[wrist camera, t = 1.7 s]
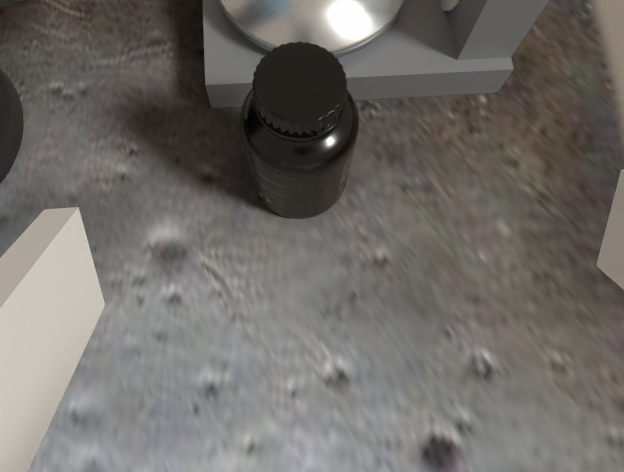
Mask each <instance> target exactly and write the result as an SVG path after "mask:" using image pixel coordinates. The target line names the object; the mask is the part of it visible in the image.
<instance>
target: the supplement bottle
mask: <svg viewBox="0 0 624 472" xmlns="http://www.w3.org/2000/svg"><path fill="white" fill-rule="evenodd" d="M253 78H254V79H253V81H252V88H251V89H250V91H249V92H248V94H247V95H246V97H245V99H244V102H243V105H242V108H241V113H240V128H241V135H242V139H243V144H244V148H245V153H246V157H247V162H248V166H249V171H250V175H251V179H252V183H253V186H254V189H255V191H256V193H257V195H258V197H259V199H260V200H261V201H262V202H263V203H264V204H265V205H266V206H267V207H268V208H269V209H270V210H272V211H274V212H275V213H277V214H279V215H282V216H285V217H289V218H295V219H304V218H310V217H314V216H317V215H319V214H321V213H323V212H325V211H327V210H328V209H329V208H331V207H332V206H333V205H334V204H335V203H336V202H337V200H338V199H339V198H340V196H341V194H342V192H343V190H344V188H345V185H346V181H347V177H348V173H349V168H350V164H351V160H352V156H353V151H354V147H355V143H356V138H357V134H358V127H359V115H358V110H357V106H356V103H355V101H354V98H353V96H352V95H351V93H350V91H349V90H348V89H347V80H346V73H345V72H344V70H343V66H342V65H341V64H340V63H339V60H338V58H336V57H334V55H333V53H331V52H329V51H327V49H326V48H323V47H320V46H319V45H317V44H311V43H309V42H305V43H303V42H300V41H299V42H296V43H293V42H289V43H287V44H281V45H280V46H279V47H275V48H273V49H272V50H271V51H270V52H267V53H266V55H265V57H263V58H261V60H260V63H259V64H258V65H257V66H256V71H255V72H254V73H253Z"/></svg>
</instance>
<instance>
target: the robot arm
mask: <svg viewBox="0 0 624 472" xmlns="http://www.w3.org/2000/svg"><path fill="white" fill-rule="evenodd" d="M20 1H23V0H0V7H2V6H6V5H9V4H13V3H16V2H20ZM22 134H23V111H22V106H21V102H20V99H19V96H18V94H17V91H16V89H15V87H14V86H13V84H12V83H11V81H10V80H9V78H8V77H7V76H6V75H5V73H4V72H3V71H2V70H1V69H0V183H1V182H2V181H3V179H4V178H5V176H6V175H7V173H8V172H9V170H10V168H11V167H12V165H13V163H14V161H15V159H16V156H17V154H18V151H19V148H20V144H21V140H22ZM596 266H597V267H598V268H600V269H601V270H602V271H603V272H604V273H605V274H606V275H608V276H609V277H610V278H611V279H612V280H613V281H615V282H616V283H617V284H618V285H619V286H620V287H621V288H623V289H624V170H621V173H620V177H619V180H618V184H617V188H616V192H615V196H614V200H613V204H612V207H611V211H610V215H609V219H608V223H607V227H606V230H605V234H604V238H603V242H602V246H601V250H600V254H599V257H598V261H597V265H596ZM104 307H105V303H104V299H103V296H102V292H101V288H100V285H99V281H98V277H97V274H96V270H95V266H94V262H93V259H92V255H91V251H90V248H89V244H88V240H87V237H86V233H85V229H84V226H83V222H82V218H81V215H80V211H79V207H73V208H58V209H44V210H43V212H42V213H41V214H40V215H39V216H38V217H37V218H36V219H35V220H34V221H33V223H32V224H31V225H30V226H29V227H28V228H27V229H26V230H25V231H24V232H23V234H22V235H21V236H20V237H19V238H18V239H17V240H16V241H15V242H14V243H13V244H12V246H11V247H10V248H9V249H8V250H7V251H6V252H5V253H4V254H3V255H2V257H1V258H0V472H28V470H29V468H30V466H31V464H32V461H33V459H34V457H35V455H36V453H37V451H38V449H39V446H40V444H41V442H42V440H43V438H44V436H45V433H46V431H47V429H48V427H49V425H50V423H51V421H52V418H53V416H54V414H55V412H56V410H57V408H58V406H59V403H60V401H61V399H62V397H63V395H64V393H65V390H66V388H67V386H68V384H69V382H70V380H71V378H72V375H73V373H74V371H75V369H76V367H77V365H78V363H79V360H80V358H81V356H82V354H83V352H84V350H85V347H86V345H87V343H88V341H89V339H90V337H91V335H92V332H93V330H94V328H95V326H96V324H97V322H98V319H99V317H100V315H101V313H102V311H103V309H104Z"/></svg>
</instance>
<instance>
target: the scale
mask: <svg viewBox="0 0 624 472" xmlns="http://www.w3.org/2000/svg"><path fill="white" fill-rule="evenodd" d="M548 1H549V0H404V3H403V6H402V8H401V11H400V13H399V15H398V17H397V18H396V20H395V22H394V23H393V25H392V26H391V27H390V28H389V29H388V31H387V32H386V33H385V34H384V35H382V36H381V37H380V38H379V39H378V40H377V41H375V42H374V43H372V44H371V45H369V46H367V47H365V48H363V49H361V50H359V51H357V52H355V53H352V54H349V55H346V56H342V57H338V60H339V63H340V64H341V65H342V66H343V70H344V72H345V73H346V80H347V89H348V90H349V91H350V93H351V95H352V96H353V98H354V100H372V99H390V98H408V97H427V96H445V95H463V94H482V93H497V92H498V91H499V90H500V88H501V87H502V85H503V84H504V82H505V81H506V80H507V78H508V77H509V75H510V74H511V72H512V71H513V70H514V69H513V64H512V60H511V56H512V55H513V53H514V52H515V50H516V49H517V47H518V46H519V44H520V43H521V41H522V40H523V38H524V37H525V35H526V34H527V32H528V31H529V29H530V28H531V26H532V25H533V23H534V22H535V20H536V19H537V17H538V16H539V14H540V13H541V11H542V10H543V8H544V7H545V5H546V4H547V2H548ZM203 30H204V61H205V86H206V90H207V93H208V97H209V101H210V104H211V108H225V107H242V105H243V102H244V99H245V97H246V95H247V94H248V92H249V91H250V89H251V88H252V81H253V79H254V78H253V73H254V72H255V71H256V66H257V65H258V64H259V63H260V60H261V58H263V57H265V55H266V53H267V52H270V51H267V50H265V49H263V48H261V47H259V46H257V45H256V44H254V43H253V42H251V41H250V40H248V39H247V38H245V37H244V36H243V35H242V34H241V33H240V32H238V31H237V30H236V28H235V27H234V26H233V25H232V24H231V23H230V22H229V20H228V19H227V17H226V16H225V14H224V13H223V11H222V9H221V6H220V4H219V2H218V0H203Z"/></svg>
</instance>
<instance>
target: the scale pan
mask: <svg viewBox="0 0 624 472" xmlns="http://www.w3.org/2000/svg"><path fill="white" fill-rule="evenodd" d="M218 2H219V4H220V6H221V9H222V11H223V13H224V14H225V16H226V17H227V19H228V20H229V22H230V23H231V24H232V25H233V26H234V27H235V28H236V30H237V31H238V32H240V33H241V34H242V35H243V36H244V37H245V38H247V39H248V40H250V41H251V42H253V43H254V44H256V45H257V46H259V47H261V48H263V49H265V50H267V51H271V50H272V49H273V48H275V47H279V46H280V45H281V44H287V43H289V42H293V43H296V42H299V41H300V42H303V43H305V42H309V43H311V44H317V45H319V46H320V47H323V48H326V49H327V51H329V52H331V53H333V55H334V57H336V58H338V57H342V56H346V55H349V54H352V53H355V52H357V51H359V50H361V49H363V48H365V47H367V46H369V45H371V44H372V43H374V42H375V41H377V40H378V39H379V38H380V37H381V36H382V35H384V34H385V33H386V32H387V31H388V29H389V28H390V27H391V26H392V25H393V23H394V22H395V20H396V18H397V17H398V15H399V13H400V11H401V8H402V6H403V3H404V0H218Z"/></svg>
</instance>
